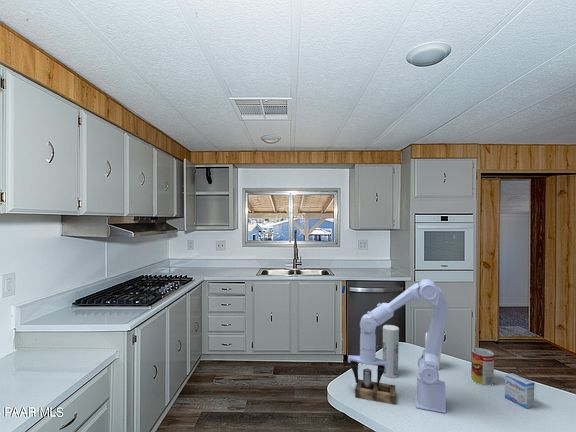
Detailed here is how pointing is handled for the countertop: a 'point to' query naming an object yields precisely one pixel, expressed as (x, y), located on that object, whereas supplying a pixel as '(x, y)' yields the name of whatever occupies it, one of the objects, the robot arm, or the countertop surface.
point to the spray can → (391, 350)
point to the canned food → (482, 366)
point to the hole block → (376, 392)
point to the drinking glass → (439, 351)
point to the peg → (367, 378)
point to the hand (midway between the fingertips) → (367, 383)
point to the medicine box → (519, 390)
